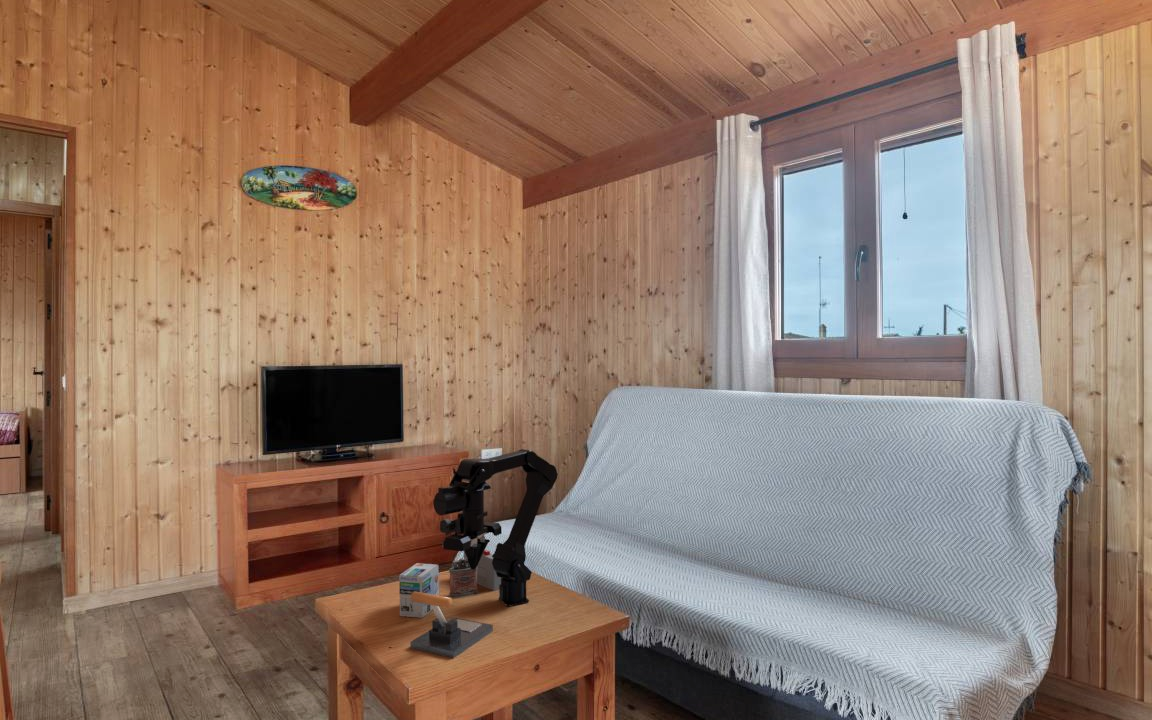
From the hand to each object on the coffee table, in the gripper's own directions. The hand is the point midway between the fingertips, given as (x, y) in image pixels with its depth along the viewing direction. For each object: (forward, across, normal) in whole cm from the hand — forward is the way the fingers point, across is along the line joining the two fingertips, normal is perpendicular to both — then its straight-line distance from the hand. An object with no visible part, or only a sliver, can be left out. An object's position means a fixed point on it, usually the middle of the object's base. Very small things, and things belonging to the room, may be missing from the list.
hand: (473, 569), depth 171 cm
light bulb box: (+12, +3, -15) cm, 20 cm away
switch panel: (+12, +14, +4) cm, 19 cm away
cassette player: (+12, -22, -12) cm, 28 cm away
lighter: (+12, -12, -11) cm, 20 cm away
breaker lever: (+8, +17, +4) cm, 19 cm away
